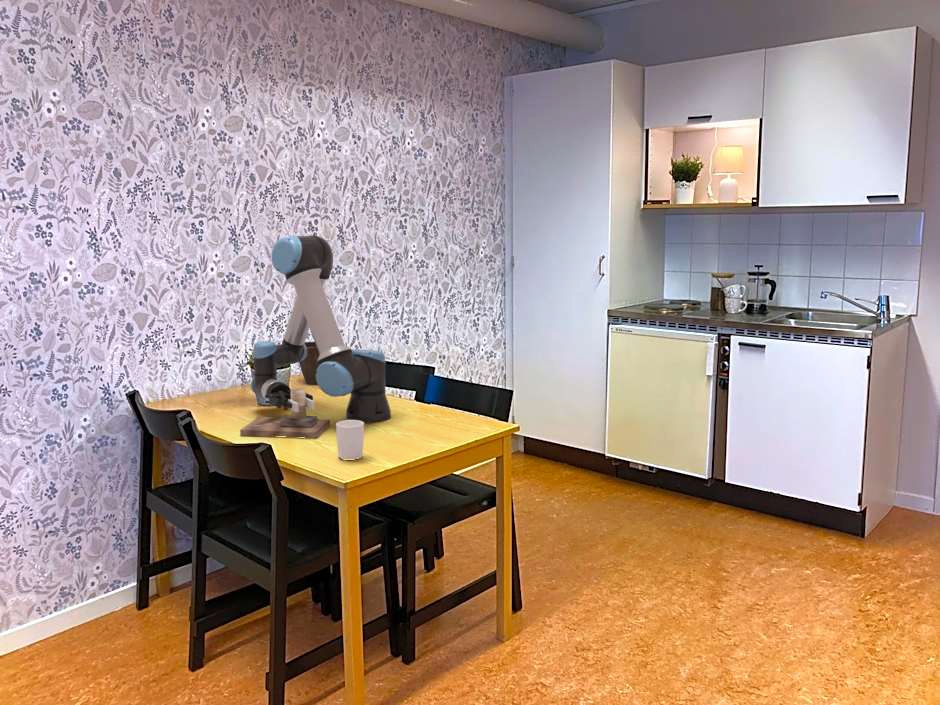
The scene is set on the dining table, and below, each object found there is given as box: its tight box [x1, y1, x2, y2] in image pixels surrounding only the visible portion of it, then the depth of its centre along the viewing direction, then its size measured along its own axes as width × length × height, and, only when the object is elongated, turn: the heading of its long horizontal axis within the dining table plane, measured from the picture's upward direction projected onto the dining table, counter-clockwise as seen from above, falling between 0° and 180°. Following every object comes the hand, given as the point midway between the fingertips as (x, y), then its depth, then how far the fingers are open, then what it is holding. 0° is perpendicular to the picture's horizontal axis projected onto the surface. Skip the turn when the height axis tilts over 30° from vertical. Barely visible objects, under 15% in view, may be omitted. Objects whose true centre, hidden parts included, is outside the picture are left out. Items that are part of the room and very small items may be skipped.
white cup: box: [335, 419, 365, 459], centre depth 227 cm, size 8×8×10 cm
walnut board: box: [239, 416, 331, 439], centre depth 255 cm, size 24×16×2 cm, turn 84°
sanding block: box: [280, 388, 318, 427], centre depth 254 cm, size 10×6×11 cm, turn 84°
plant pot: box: [298, 341, 319, 386], centre depth 325 cm, size 15×15×16 cm
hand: (305, 406), depth 249 cm, fingers closed on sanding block, 5 cm apart
